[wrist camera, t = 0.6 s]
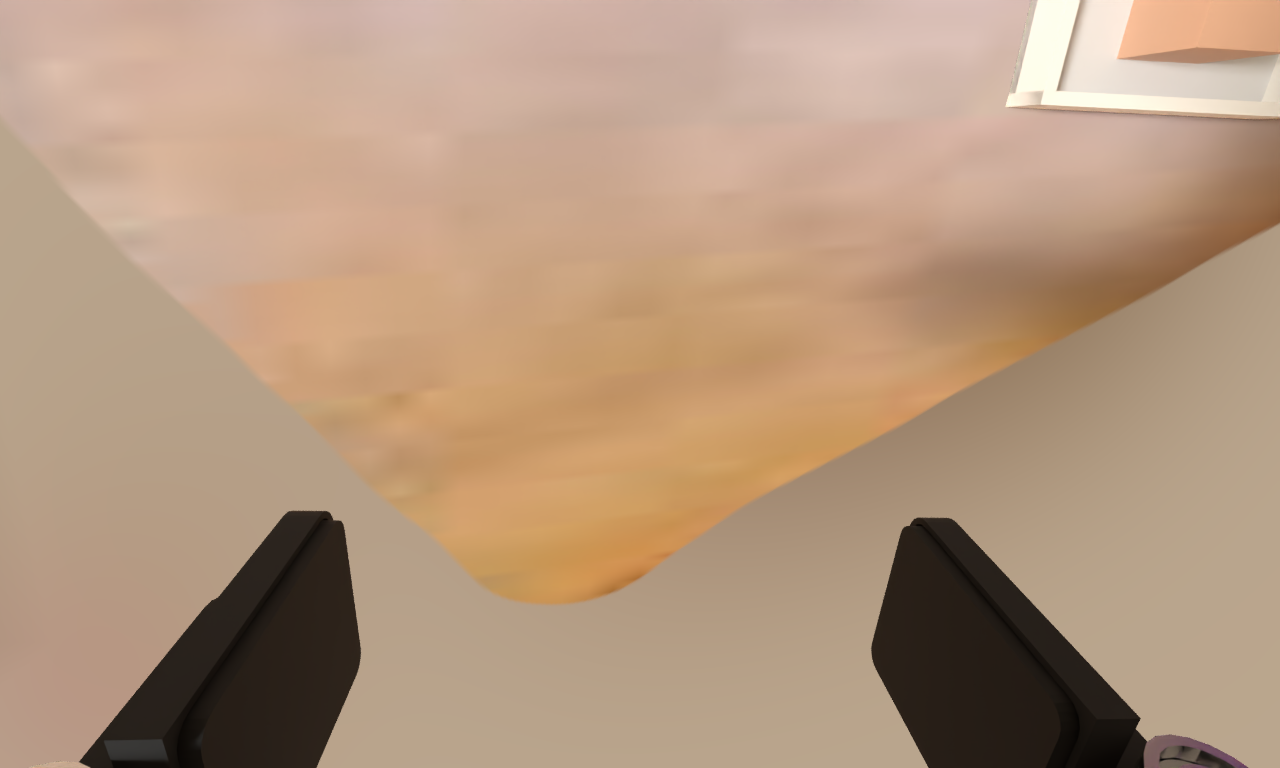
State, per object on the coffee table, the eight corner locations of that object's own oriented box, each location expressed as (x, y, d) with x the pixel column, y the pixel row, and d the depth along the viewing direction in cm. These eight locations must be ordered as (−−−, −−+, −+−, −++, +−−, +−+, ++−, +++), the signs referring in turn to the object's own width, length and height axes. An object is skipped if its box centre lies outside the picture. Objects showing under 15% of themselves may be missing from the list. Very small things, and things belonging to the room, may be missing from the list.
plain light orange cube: (1146, -46, 33) (1237, -76, 29) (1232, -40, 34) (1334, -68, 29) (1116, 59, 35) (1196, 47, 30) (1197, 63, 35) (1289, 52, 31)
